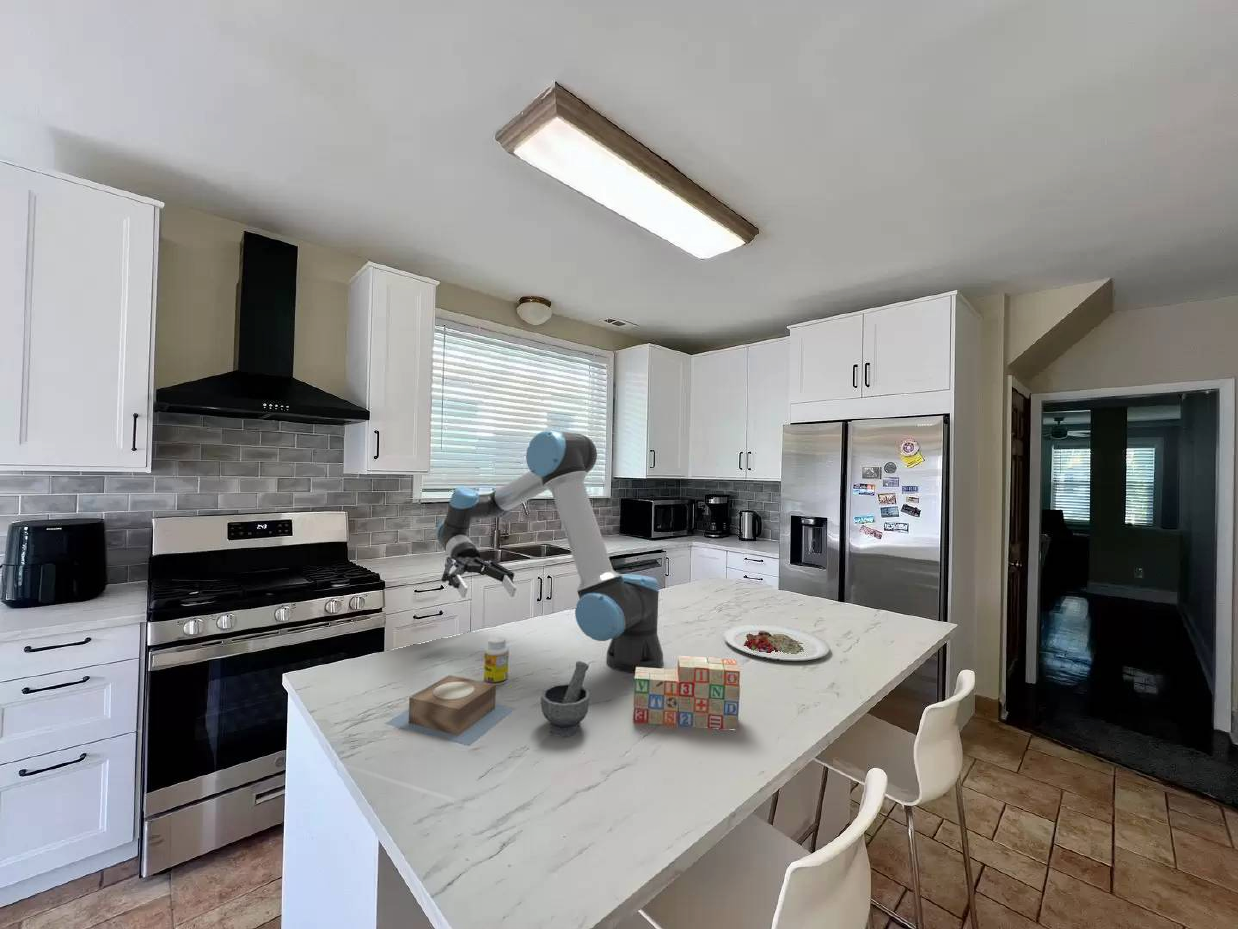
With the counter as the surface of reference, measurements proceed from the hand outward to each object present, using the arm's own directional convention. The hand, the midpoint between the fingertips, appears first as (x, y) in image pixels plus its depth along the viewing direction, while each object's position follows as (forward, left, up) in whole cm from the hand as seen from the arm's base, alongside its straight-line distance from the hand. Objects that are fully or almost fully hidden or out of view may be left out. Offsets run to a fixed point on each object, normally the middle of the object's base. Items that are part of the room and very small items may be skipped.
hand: (490, 592), depth 132 cm
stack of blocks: (-53, +6, -19) cm, 57 cm away
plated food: (-67, -49, -19) cm, 85 cm away
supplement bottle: (-7, +7, -19) cm, 22 cm away
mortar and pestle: (-32, +19, -19) cm, 42 cm away
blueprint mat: (-9, +25, -19) cm, 33 cm away
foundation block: (-9, +25, -19) cm, 33 cm away
